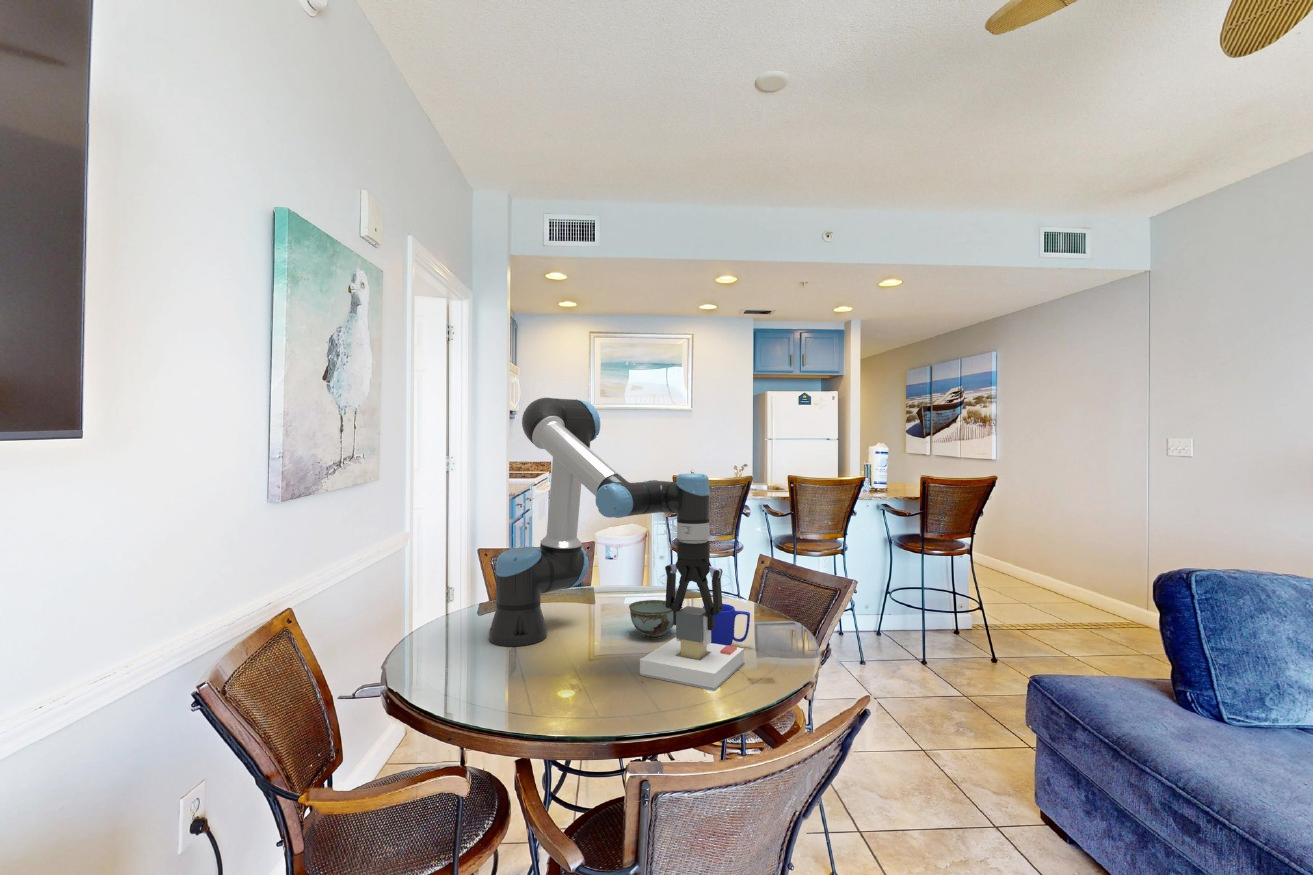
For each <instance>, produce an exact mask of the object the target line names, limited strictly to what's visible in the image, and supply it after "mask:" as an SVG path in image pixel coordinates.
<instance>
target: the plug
mask: <svg viewBox="0 0 1313 875" xmlns="http://www.w3.org/2000/svg"><path fill="white" fill-rule="evenodd" d="M705 615H706V611H705V608H703V607H697V606H690V605H687V606H685V607H683V608H682V609H681V610H679V611H677V612H676V625H675V626H676V627H675V633H676V634H675V637H676V639H681V656H685V657H691V658H696V659H699V658H701V657H702V656H703V655H705V654H706V653H707V646H704V645H703V616H705Z"/></svg>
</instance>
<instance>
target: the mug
mask: <svg viewBox="0 0 1313 875" xmlns="http://www.w3.org/2000/svg"><path fill="white" fill-rule="evenodd" d="M722 606H723V611H722V612H720V613H719V614H717V615H715V627H714V629H713V630H711V643H714V644H720V645H726V646H727V645H730V646H733V645H732V644H733V641H735V642H737V643H742V642H744V641H745V640H746V639H747V637H748V634H749V629H750V621H751V613H750V612H749V611H744V610H736V608H735V607H734V606H733V605H732V604H726V603H722ZM702 608H705V607H704V605H703V606H702ZM738 615H744V616H746V619H747V620H746V628H745V631H744V632H745V633H744V635H743V637H741V638H736V637H735V625H736V624H735V622H736V617H737V616H738Z"/></svg>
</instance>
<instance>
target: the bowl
mask: <svg viewBox="0 0 1313 875" xmlns="http://www.w3.org/2000/svg"><path fill="white" fill-rule="evenodd" d="M665 603H666V600H661V599H647V600H640V601H639V600H638V601H635V602H632V603H629V605H628V609H629V610H630V611H629V613H630V619H631V622H632V624H633V626H634V627H635V628H636V630H637V631H639V632H640V633H641V634H642V636H643V637H644V638H646V639H651V640H652V639H660V638H661V639H662V638H664V637H665V635H666V633H667V632H669V631H670V630H671V629H672V628H673V626H675V625H674V623H673V610H672V609H670V608H666V606H665Z"/></svg>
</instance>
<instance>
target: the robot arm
mask: <svg viewBox="0 0 1313 875" xmlns="http://www.w3.org/2000/svg"><path fill="white" fill-rule="evenodd" d="M521 428H522V429H523V433H524V435H525V437H526V438H527V439H528V440H529V441H530V442H531V443H532V445H534V446H535V447H536V448H537V449H540V450H545V451H546V452H547V453H548V454H550V456H552V464H551V475H550V488H549V489H550V490H549V500H548V501H549V502H548V513H547V523H546V524H547V525H546V526H547V527H546V535H545V536H544V537H543V538H542V539H541V540H540V545H539V547H537V546H523V547H519V546H518V547H515V548H510V549H508V550H505V551H502V552H501V553H500V554H499V555H498V557H497V559H496V565H495V575H496V576H495V577H496V578H495V579H496V580H495V601H496V602H495V612H494V615H493V619H492V621H491V626H490V627H489V632H488V640H489V642H490V643H492V644H494V645H498V646H503V647H521V646H528V645H533V644H536V643H540V642H542V641H544V640H545V639H547V637H548V626H547V624H546V622H545V618H544V615H543V612H542V609H541V595H542V594H546V593H551V592H555V591H560V590H561V591H562V590H567V589H570V588H572V587H576V586H578V585H579V584H581V583H582V582H583V581H584V580H585V578H586V576H587V574H588V571H589V557H588V556H587V551H586V550H585V549H584V548H583V547H582V541H581V540H580V539H579V538H578V528H579V516H580V504H581V489H582V485H583V486H584V487H585V488H586V489H587V490H588V491H589V492H590V493H592V495H594V497H595V506H596V507H597V510H598V512H599V513H600V514H601V515H602V517H603V516H604V517H605V518H616V519H619V518H626V517H631V516H632V517H633V516H639V515H648V514H650V515H651V514H658V513H664V514H665V513H666V514H676V538H677V540H678V541H677V543H676V561H675V564H674V563H670V564H667V565H666V566H665V567H664V569H665V573H666V585H665V586H666V589H665V601H666V603H665V606H666V608H670V609H672V610H673V623H674V625H673V626H676V612H677V611H679V610H681V609H683V608H684V607H683V603H684V600H685V596H686V594H687V590H688V586H689V584H690V582H693V583H696V586H697V588H698V590H699V593H700V596H701V600H702V604H703V606H704V607H705V611H706V615H705V616H703V645H704V646H707V645H708V644H710V643H711V630H713V629H714V627H715V615H717V614H719V613H720V612H722V611H723V606H722V604H723V593H722V576H723V569H722V568H715V567H713V566H712V564H711V561H710V556H711V555H710V553H711V552H710V551H711V550H710V547H711V546H710V545H711V544H710V542H709V541H708V540H710V538H711V536H710V531H711V530H710V497H711V496H710V495H711V492H710V484H709V481H710V480H709V476H708V475H707V474H706V473H679V474H678V475H677V476H676V481H669V480H667V481H665V480H657V479H656V480H655V479H653V480H644V481H640V482H639V481H638V482H637V481H636V482H629V481H628V480H627V479H625V478H624V477H623V476H621V474H620V473H618V472H617V471H616V470H615V469H614V468H612V467H611V466H610V465H609V464H608V463H607V462H605V460H603V459H602V458H601V457H599V455H598V454H596V453H595V452H594V451H593V450H592V449H590V448H591V442H593V441H595V440H596V438H597V436H598V435H599V434H600V430H601V417H600V415H599V413H598V410H597V409H596V408H595V406H594V405H593V404H592V403H590V401H589V402H588V401H585V400H580V399H572V398H571V399H570V398H555V397H554V398H553V397H540V398H537V399H535V400H534V401H532V402H530V403H529V404H528V405H527V407H526V408H525V409H524V412H523V414H522V418H521ZM677 571H678V572H679V574H680V577H679V581H678V584H679V585H678V587H677V592H676V584H677ZM709 573H710V577H711V588H712V589H711V590H712V591H711V592H712V595H711V592H710V587H709V581H708V578H707V576H708V575H709ZM677 641H681V639H677Z"/></svg>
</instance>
